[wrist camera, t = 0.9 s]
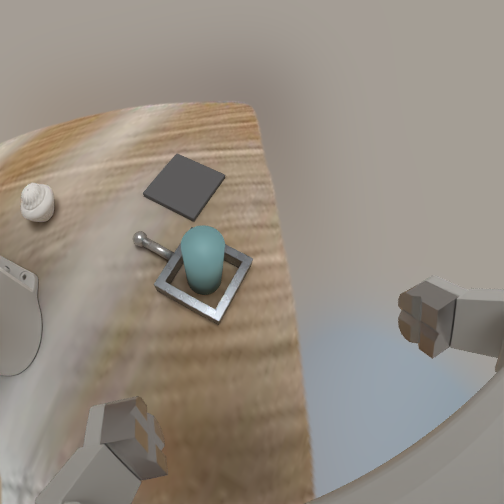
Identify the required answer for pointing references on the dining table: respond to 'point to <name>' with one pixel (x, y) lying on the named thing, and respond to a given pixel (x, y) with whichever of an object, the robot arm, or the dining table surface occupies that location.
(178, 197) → the rubber mat
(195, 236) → the teal peg
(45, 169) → the dining table surface
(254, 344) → the dining table surface
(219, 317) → the socket
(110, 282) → the dining table surface
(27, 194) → the muffin
